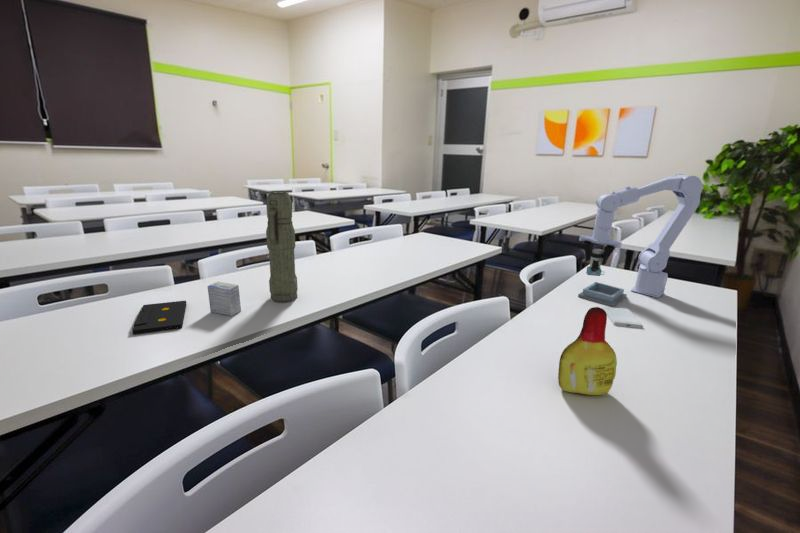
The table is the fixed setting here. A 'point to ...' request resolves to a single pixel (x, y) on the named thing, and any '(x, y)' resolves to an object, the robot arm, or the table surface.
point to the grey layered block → (224, 298)
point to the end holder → (603, 294)
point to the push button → (595, 262)
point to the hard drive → (622, 317)
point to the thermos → (281, 247)
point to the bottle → (588, 358)
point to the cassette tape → (160, 317)
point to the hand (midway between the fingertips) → (595, 262)
